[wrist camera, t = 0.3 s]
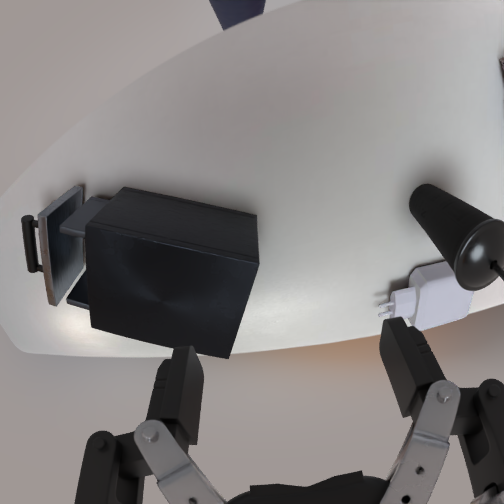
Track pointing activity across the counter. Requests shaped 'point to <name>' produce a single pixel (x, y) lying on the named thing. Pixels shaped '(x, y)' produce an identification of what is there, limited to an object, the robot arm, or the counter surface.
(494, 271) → the drinking cup
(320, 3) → the counter surface
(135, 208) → the cabinet
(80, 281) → the drawer
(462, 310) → the charger
